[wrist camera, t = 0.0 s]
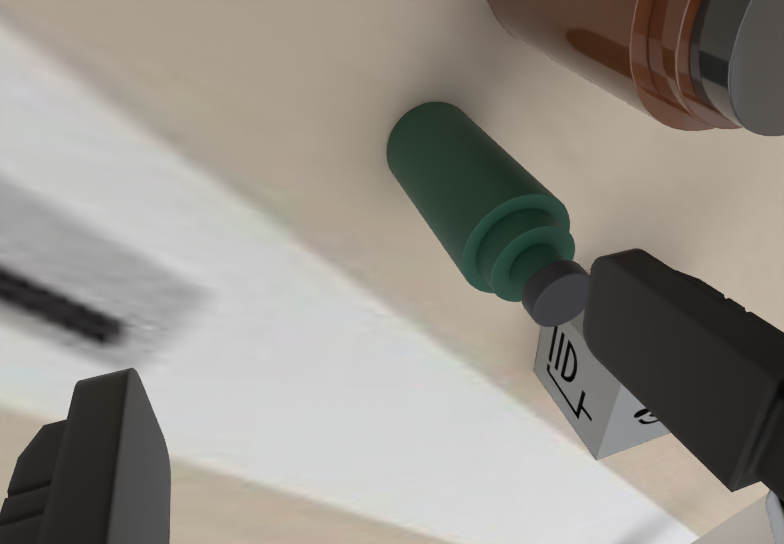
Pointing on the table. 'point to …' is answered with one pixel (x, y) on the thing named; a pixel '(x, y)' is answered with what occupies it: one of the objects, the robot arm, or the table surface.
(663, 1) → the brown bottle
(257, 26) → the table surface
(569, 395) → the icon cube
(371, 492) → the table surface
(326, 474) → the table surface
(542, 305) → the green bottle
